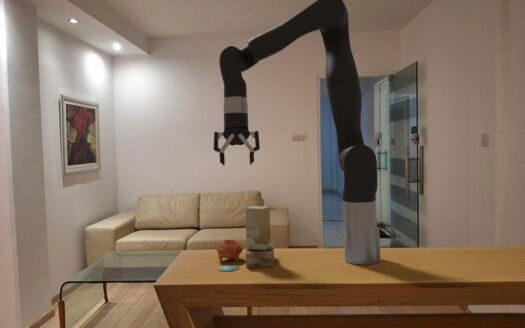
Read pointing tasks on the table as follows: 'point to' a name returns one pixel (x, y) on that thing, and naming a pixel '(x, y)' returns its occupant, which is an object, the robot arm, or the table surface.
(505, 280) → the table surface
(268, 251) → the open wooden box
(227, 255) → the pot
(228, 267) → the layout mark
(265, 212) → the skincare box
